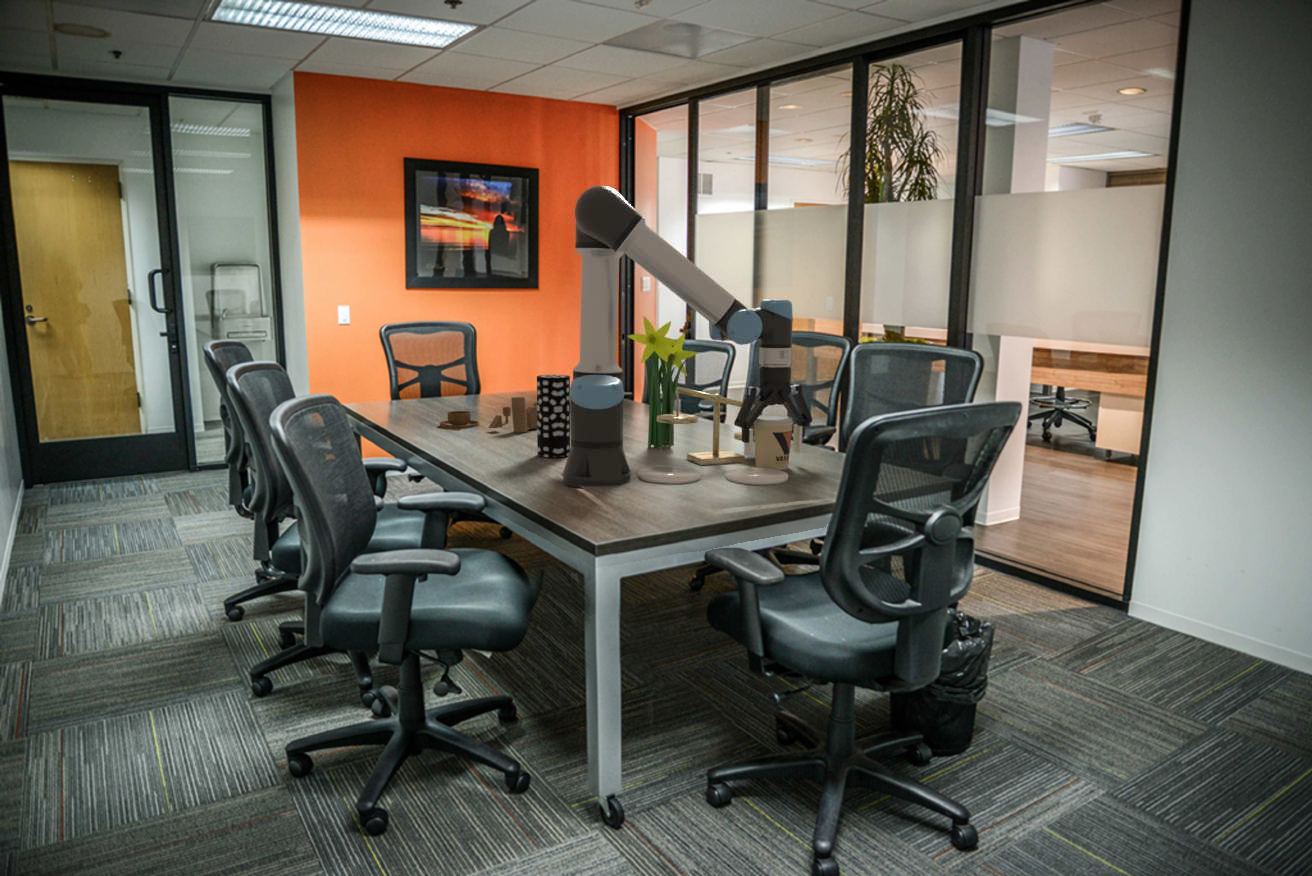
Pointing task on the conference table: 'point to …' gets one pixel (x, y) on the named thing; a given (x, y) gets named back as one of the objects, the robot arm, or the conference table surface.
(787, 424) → the coffee cup
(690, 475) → the disc
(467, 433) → the conference table surface
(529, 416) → the wooden block set
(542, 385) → the spotted tube
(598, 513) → the conference table surface
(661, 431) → the daffodil flowers
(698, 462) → the balance
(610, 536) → the conference table surface
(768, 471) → the dish
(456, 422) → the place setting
